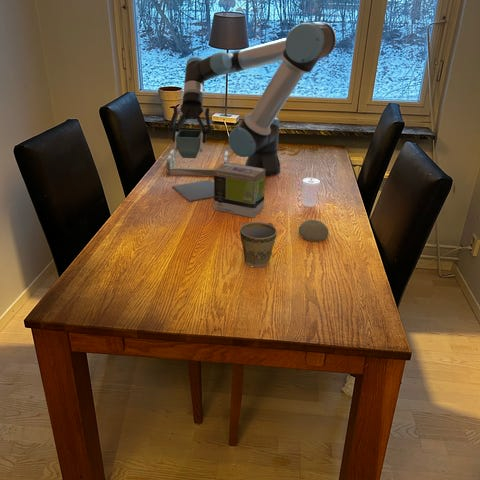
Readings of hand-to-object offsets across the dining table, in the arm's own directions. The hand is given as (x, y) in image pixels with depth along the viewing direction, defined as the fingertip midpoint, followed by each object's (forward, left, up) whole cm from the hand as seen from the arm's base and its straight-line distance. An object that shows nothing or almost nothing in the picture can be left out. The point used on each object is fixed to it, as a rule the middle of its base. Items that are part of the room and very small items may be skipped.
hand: (188, 149), depth 173 cm
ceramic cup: (-61, +5, -15) cm, 63 cm away
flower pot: (+3, -2, -4) cm, 5 cm away
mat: (-7, -2, -14) cm, 16 cm away
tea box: (-28, -7, -15) cm, 32 cm away
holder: (+16, -12, -14) cm, 25 cm away
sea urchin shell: (-56, -18, -15) cm, 60 cm away
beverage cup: (-35, -32, -15) cm, 49 cm away
